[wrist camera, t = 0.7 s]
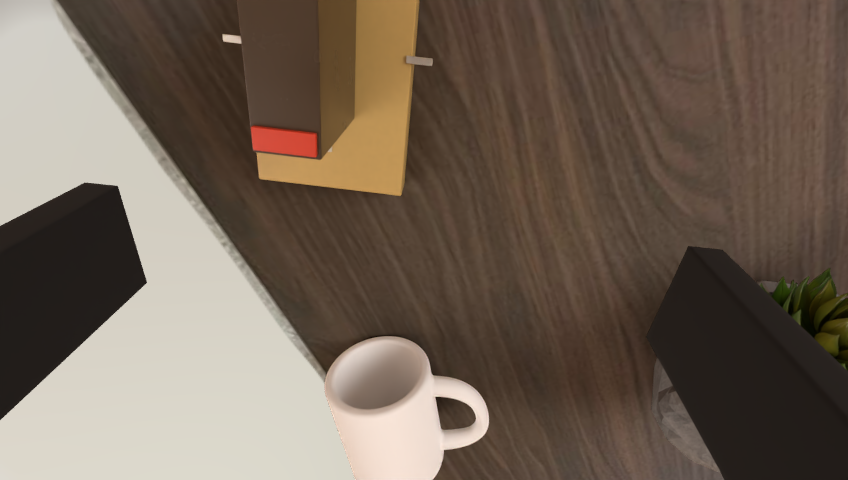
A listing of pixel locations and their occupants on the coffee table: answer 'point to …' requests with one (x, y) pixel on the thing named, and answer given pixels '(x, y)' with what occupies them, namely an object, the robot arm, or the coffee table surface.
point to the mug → (396, 410)
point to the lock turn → (298, 73)
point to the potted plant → (809, 306)
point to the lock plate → (366, 108)
